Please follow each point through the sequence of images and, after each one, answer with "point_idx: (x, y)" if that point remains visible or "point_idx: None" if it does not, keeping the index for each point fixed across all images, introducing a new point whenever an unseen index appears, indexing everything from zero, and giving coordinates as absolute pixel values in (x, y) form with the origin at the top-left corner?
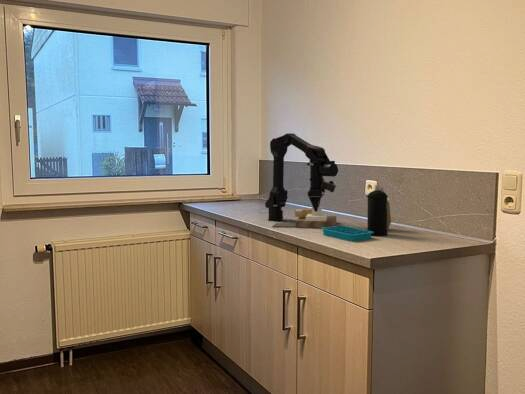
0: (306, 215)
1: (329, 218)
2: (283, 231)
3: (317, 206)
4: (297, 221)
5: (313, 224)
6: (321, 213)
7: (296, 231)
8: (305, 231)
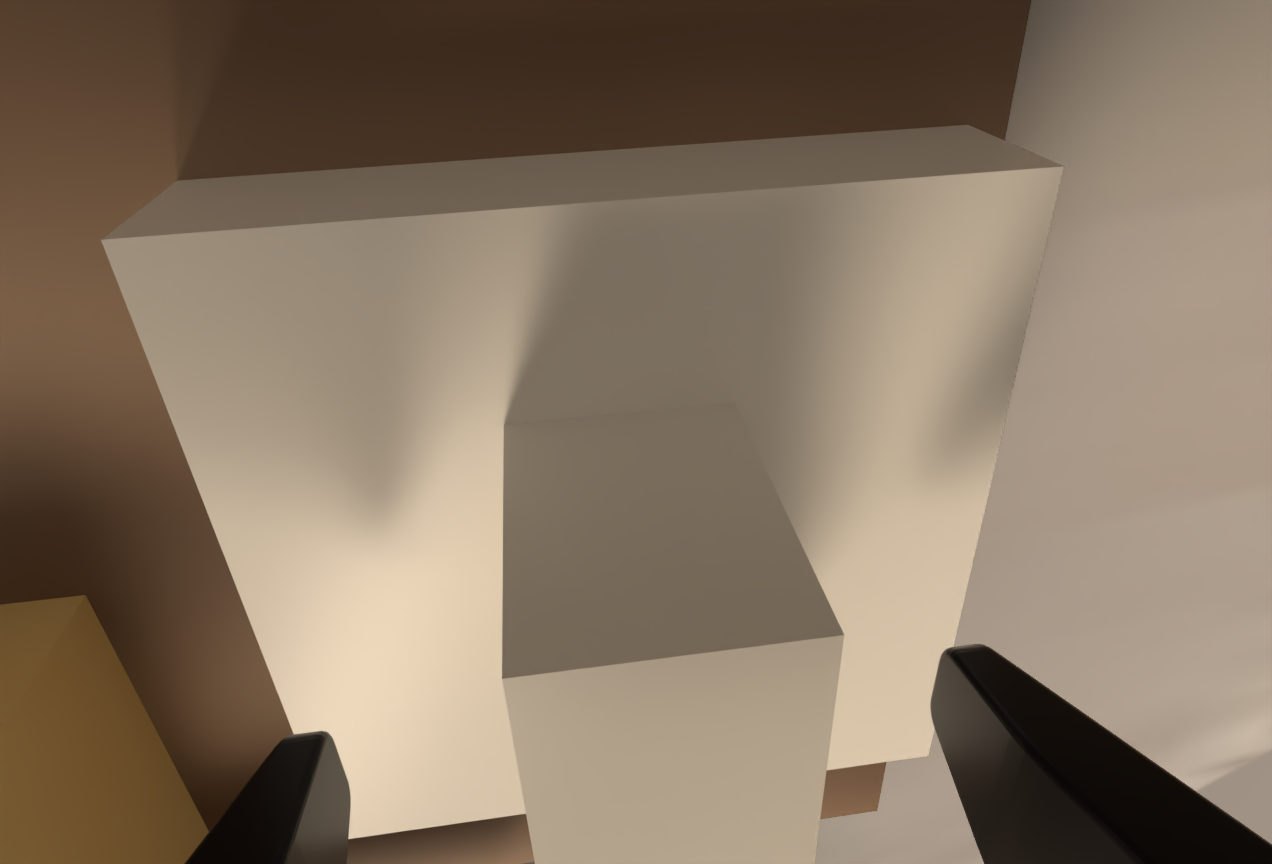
0: (175, 835)
1: (206, 96)
2: (1175, 742)
3: (1214, 825)
4: (880, 775)
5: None
6: (751, 455)
7: (1224, 594)
8: (1267, 463)
